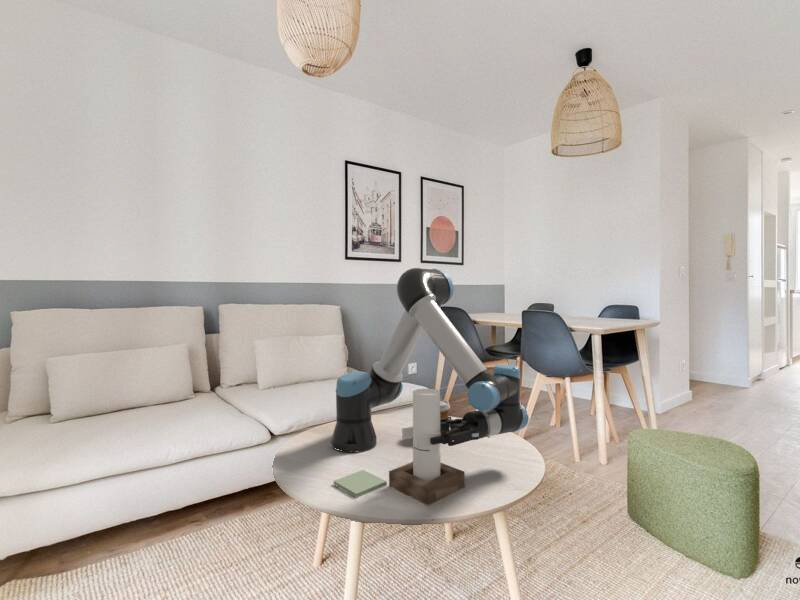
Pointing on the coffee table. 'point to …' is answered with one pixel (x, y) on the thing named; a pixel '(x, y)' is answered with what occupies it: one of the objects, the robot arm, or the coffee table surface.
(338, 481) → the green mat
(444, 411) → the disposable coffee cup
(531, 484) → the coffee table surface
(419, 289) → the robot arm
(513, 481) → the coffee table surface
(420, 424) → the cylindrical container
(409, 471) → the frame
